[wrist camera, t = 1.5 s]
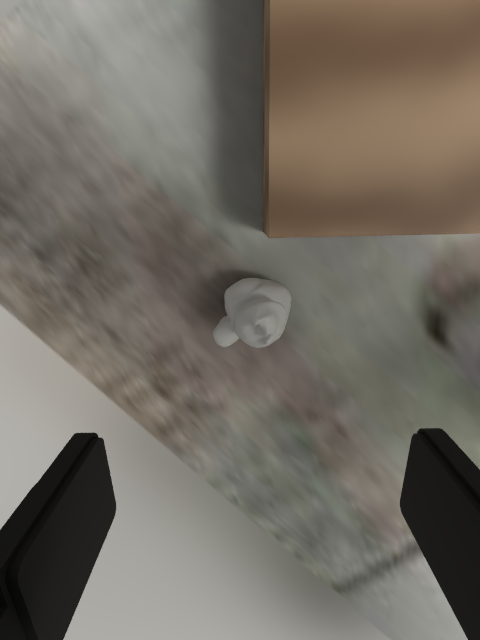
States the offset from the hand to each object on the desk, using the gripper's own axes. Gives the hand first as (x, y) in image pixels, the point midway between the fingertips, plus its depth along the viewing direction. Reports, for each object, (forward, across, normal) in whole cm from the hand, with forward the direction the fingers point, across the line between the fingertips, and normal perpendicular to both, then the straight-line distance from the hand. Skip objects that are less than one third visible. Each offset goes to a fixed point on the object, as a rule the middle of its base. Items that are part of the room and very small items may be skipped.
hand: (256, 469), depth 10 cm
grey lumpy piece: (+18, 0, 0) cm, 18 cm away
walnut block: (+18, -8, -15) cm, 25 cm away
